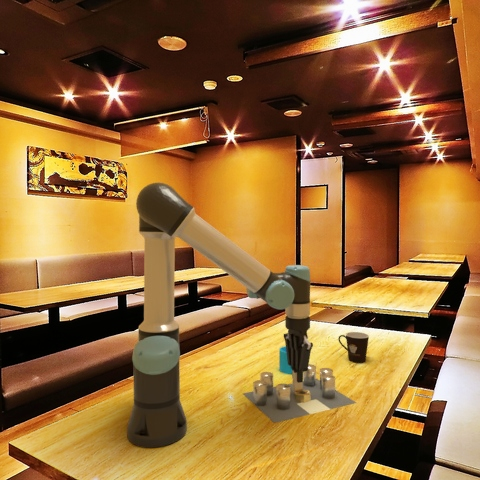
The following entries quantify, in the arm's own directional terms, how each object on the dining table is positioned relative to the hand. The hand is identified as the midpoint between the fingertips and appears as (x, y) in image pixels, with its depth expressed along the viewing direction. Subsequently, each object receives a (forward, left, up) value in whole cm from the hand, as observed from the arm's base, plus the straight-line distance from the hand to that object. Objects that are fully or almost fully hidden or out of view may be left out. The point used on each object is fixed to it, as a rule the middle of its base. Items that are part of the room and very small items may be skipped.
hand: (297, 391), depth 122 cm
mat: (-1, -2, -2) cm, 3 cm away
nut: (0, -3, -1) cm, 3 cm away
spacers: (-1, 0, -1) cm, 2 cm away
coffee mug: (+39, +19, -2) cm, 43 cm away
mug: (+11, +19, -2) cm, 22 cm away
